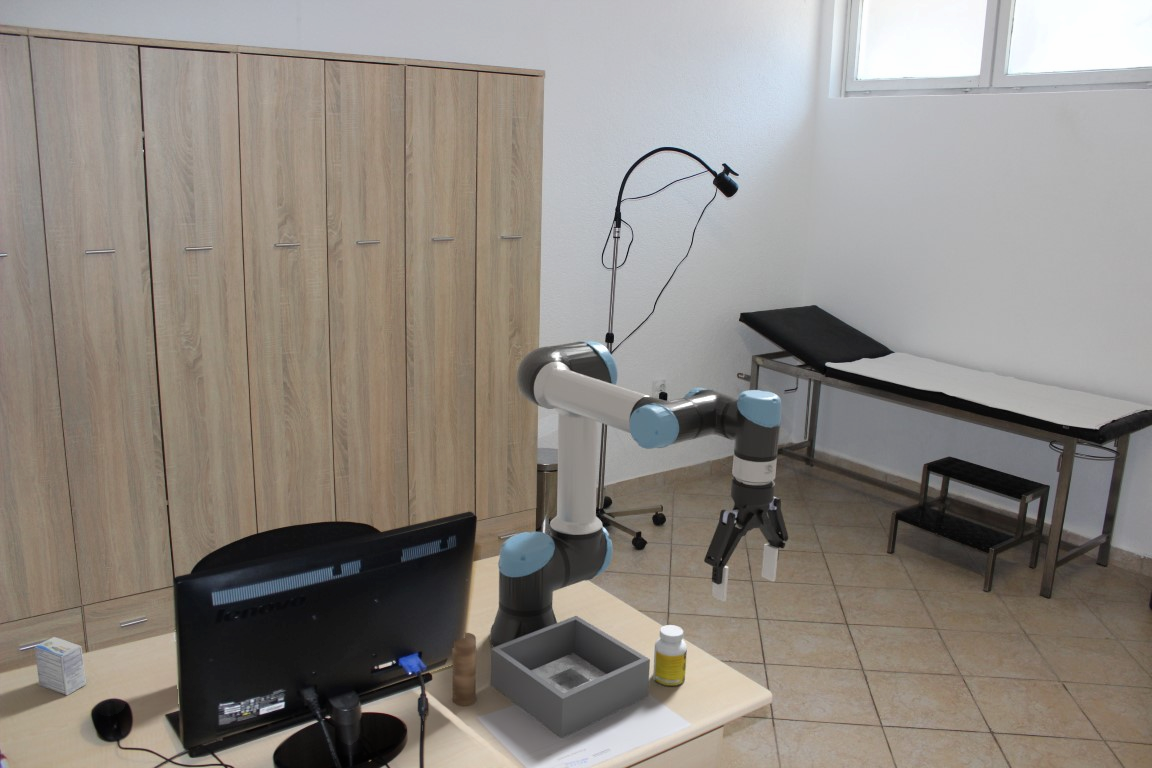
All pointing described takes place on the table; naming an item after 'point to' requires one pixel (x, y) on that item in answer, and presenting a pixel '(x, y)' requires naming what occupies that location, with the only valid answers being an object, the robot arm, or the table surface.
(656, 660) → the pill bottle
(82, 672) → the medicine box
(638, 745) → the table surface
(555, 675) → the bore plate
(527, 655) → the open box
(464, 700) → the walnut peg
